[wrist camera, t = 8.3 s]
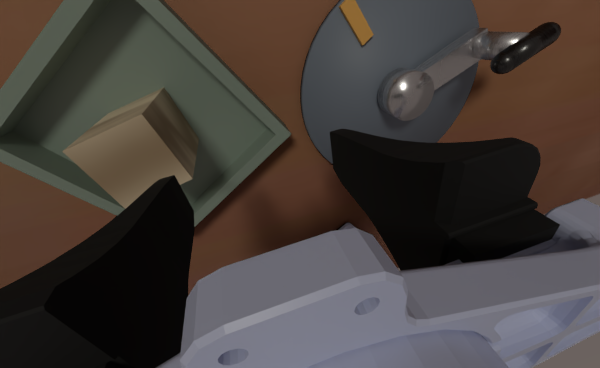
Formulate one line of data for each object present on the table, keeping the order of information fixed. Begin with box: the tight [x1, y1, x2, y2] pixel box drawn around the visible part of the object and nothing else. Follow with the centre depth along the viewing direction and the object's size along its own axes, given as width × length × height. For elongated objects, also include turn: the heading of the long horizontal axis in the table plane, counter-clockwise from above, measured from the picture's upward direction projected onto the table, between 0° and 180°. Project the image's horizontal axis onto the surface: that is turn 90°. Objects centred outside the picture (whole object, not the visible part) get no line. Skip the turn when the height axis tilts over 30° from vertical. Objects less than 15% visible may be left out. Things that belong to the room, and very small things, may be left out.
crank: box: [378, 22, 561, 121], centre depth 18 cm, size 10×4×5 cm, turn 121°
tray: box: [0, 0, 291, 227], centre depth 17 cm, size 13×13×2 cm
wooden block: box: [62, 87, 199, 209], centre depth 15 cm, size 4×4×6 cm
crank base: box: [300, 0, 479, 164], centre depth 21 cm, size 16×16×1 cm
